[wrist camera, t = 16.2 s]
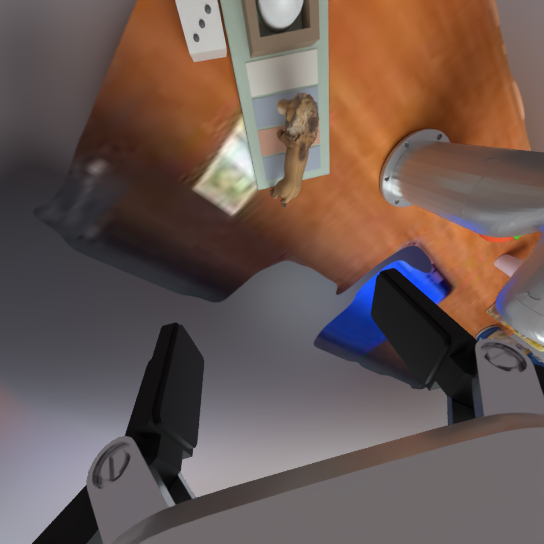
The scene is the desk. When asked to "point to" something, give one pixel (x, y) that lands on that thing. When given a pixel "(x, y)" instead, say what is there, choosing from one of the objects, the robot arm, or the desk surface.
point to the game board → (279, 81)
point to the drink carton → (494, 314)
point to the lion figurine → (296, 142)
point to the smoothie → (508, 264)
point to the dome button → (278, 13)
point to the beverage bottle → (499, 334)
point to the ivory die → (202, 28)
